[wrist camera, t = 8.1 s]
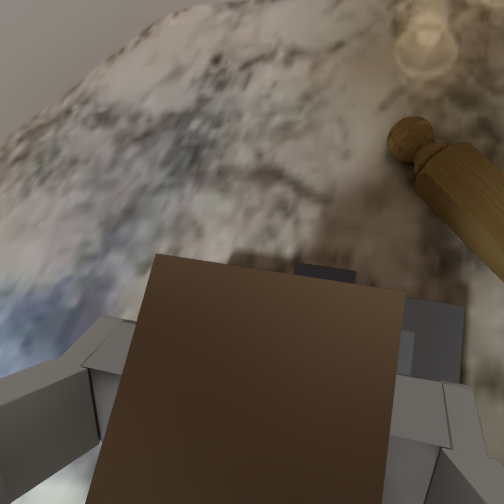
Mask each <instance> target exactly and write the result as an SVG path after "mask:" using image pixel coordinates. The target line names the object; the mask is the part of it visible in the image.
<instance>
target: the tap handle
mask: <svg viewBox="0 0 504 504" xmlns="http://www.w3.org/2000/svg"><path fill="white" fill-rule="evenodd" d="M387 145H388V148H389V151H390V153H391V154H392V156H393V157H394V158H395V159H396V160H398V161H400V162H404V163H410V162H414V165H415V167H414V172H415V175H416V176H417V177H416V180H415V189H416V193H417V194H418V195H419V196H420V197H421V198H422V199H423V200H424V201H425V202H426V203H427V205H428V206H429V207H430V208H431V209H432V210H433V211H434V212H435V213H436V214H437V215H438V216H439V217H440V218H441V219H442V220H443V221H444V222H445V223H446V224H447V225H448V226H449V227H450V228H451V229H452V230H453V231H454V232H455V233H456V234H457V235H458V236H459V237H460V238H461V239H462V240H463V241H464V242H465V243H466V244H467V245H468V246H469V247H470V249H471V250H472V251H473V252H474V253H475V254H476V255H477V256H478V257H479V258H480V259H481V260H482V261H483V262H484V263H485V264H486V265H487V266H488V267H489V268H490V269H491V270H492V271H493V272H494V273H495V274H496V275H497V276H498V277H499V278H500V279H501V280H502V281H503V282H504V174H503V173H502V172H501V171H500V170H499V169H498V168H497V167H496V166H495V165H493V164H492V163H491V162H490V161H489V160H488V159H487V158H486V157H485V156H484V155H483V154H481V153H480V152H479V151H478V150H477V149H476V148H475V147H474V146H473V145H472V144H471V143H468V142H462V143H457V144H455V145H452V146H449V147H448V145H447V144H446V143H444V144H437V143H434V133H433V129H432V126H431V125H430V123H429V122H428V121H427V120H425V119H424V118H421V117H408V118H404V119H402V120H400V121H399V122H397V123H396V124H395V125H394V126H393V127H392V129H391V131H390V133H389V135H388V137H387Z"/></svg>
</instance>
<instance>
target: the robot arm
mask: <svg viewBox="0 0 504 504" xmlns="http://www.w3.org/2000/svg"><path fill="white" fill-rule="evenodd" d="M135 326H136V321H132V320H125V319H121V318H116V317H112V316H103V317H100V318H99V319H98V320H97V321H96V322H95V323H94V324H93V325H92V326H91V327H90V328H89V329H88V330H87V331H86V332H85V333H84V334H83V335H82V336H81V337H80V338H79V339H78V340H77V341H76V342H75V343H74V344H73V345H72V346H71V347H70V348H69V349H68V350H67V351H66V352H65V353H64V354H63V355H62V356H61V357H60V358H59V359H58V360H57V361H52V360H48V361H45V362H43V363H40V364H38V365H35V366H32V367H30V368H27V369H25V370H22V371H19V372H17V373H14V374H12V375H9V376H6V377H4V378H1V379H0V504H11V502H13V501H14V500H16V499H17V498H19V497H20V496H22V495H23V494H25V493H26V492H28V491H29V490H31V489H32V488H34V487H35V486H37V485H38V484H40V483H41V482H43V481H44V480H46V479H47V478H49V477H50V476H52V475H53V474H55V473H56V472H58V471H59V470H61V469H62V468H64V467H65V466H67V465H68V464H70V463H71V462H73V461H74V460H76V459H77V458H79V457H80V456H82V455H83V454H85V453H86V452H88V451H89V450H91V449H92V448H94V447H95V446H97V445H98V444H99V441H100V442H103V439H104V435H105V432H106V428H107V425H108V421H109V418H110V414H111V411H112V407H113V404H114V400H115V397H116V393H117V390H118V386H119V382H120V379H121V375H122V372H123V368H124V365H125V361H126V358H127V354H128V351H129V347H130V344H131V340H132V336H133V333H134V329H135ZM382 504H504V466H503V465H502V464H501V463H500V462H499V461H498V460H494V459H490V458H488V454H487V449H486V445H485V440H484V436H483V431H482V427H481V422H480V418H479V413H478V409H477V404H476V400H475V395H474V391H473V389H472V388H471V387H470V386H469V385H463V384H457V383H451V382H446V381H435V380H430V379H425V378H419V377H414V376H409V375H404V374H398V373H396V382H395V391H394V400H393V409H392V418H391V427H390V435H389V444H388V453H387V462H386V471H385V480H384V488H383V497H382Z"/></svg>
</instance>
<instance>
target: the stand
mask: <svg viewBox="0 0 504 504" xmlns="http://www.w3.org/2000/svg"><path fill="white" fill-rule="evenodd" d="M294 275H300V276H306V277H313V278H319V279H326V280H332V281H339V282H345V283H352V284H355V278H356V271H351V270H344V269H338V268H331V267H324V266H317V265H311V264H304V263H297V262H296V265H295V270H294ZM464 315H465V306H458V305H452V304H446V303H439V302H433V301H426V300H420V299H414V298H407V297H405V303H404V312H403V320H402V329H401V338H400V347H399V356H398V365H397V373H398V374H404V375H409V376H414V377H419V378H425V379H430V380H435V381H446V382H451V383H457V384H459V383H460V369H461V356H462V342H463V329H464Z"/></svg>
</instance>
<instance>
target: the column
mask: <svg viewBox="0 0 504 504" xmlns="http://www.w3.org/2000/svg"><path fill="white" fill-rule="evenodd" d="M405 294H406V292H404V291H397V290H391V289H384V288H378V287H371V286H365V285H358V284H352V283H345V282H339V281H332V280H326V279H319V278H313V277H306V276H300V275H293V274H287V273H280V272H274V271H267V270H261V269H254V268H248V267H241V266H235V265H228V264H221V263H215V262H208V261H202V260H195V259H189V258H182V257H176V256H169V255H163V254H156V255H155V259H154V262H153V266H152V269H151V273H150V276H149V280H148V283H147V287H146V291H145V294H144V298H143V301H142V305H141V308H140V312H139V315H138V319H137V322H136V326H135V329H134V333H133V336H132V340H131V344H130V347H129V351H128V354H127V358H126V361H125V365H124V368H123V372H122V375H121V379H120V382H119V386H118V390H117V393H116V397H115V400H114V404H113V407H112V411H111V414H110V418H109V421H108V425H107V428H106V432H105V435H104V439H103V443H102V446H101V450H100V453H99V457H98V460H97V464H96V467H95V471H94V474H93V478H92V481H91V485H90V488H89V492H88V496H87V499H86V503H85V504H382V497H383V488H384V480H385V471H386V462H387V453H388V444H389V435H390V427H391V418H392V409H393V400H394V391H395V382H396V373H397V365H398V356H399V347H400V338H401V329H402V320H403V312H404V303H405Z"/></svg>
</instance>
